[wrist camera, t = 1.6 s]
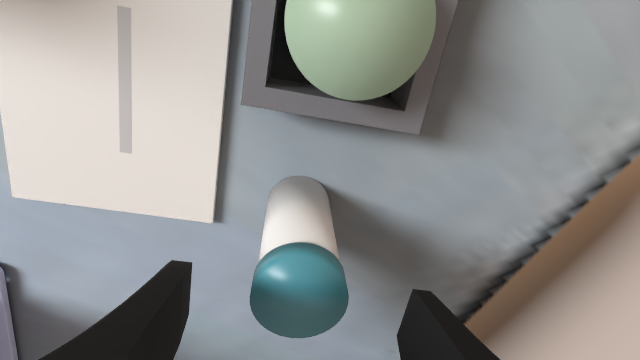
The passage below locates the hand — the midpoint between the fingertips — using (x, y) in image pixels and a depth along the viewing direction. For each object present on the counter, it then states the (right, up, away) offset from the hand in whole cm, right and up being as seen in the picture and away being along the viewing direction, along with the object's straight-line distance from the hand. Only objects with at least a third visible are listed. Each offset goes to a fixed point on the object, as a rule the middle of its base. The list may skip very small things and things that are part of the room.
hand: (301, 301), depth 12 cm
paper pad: (-8, +8, +4) cm, 12 cm away
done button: (+2, +10, +2) cm, 10 cm away
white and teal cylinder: (0, +3, +6) cm, 7 cm away
